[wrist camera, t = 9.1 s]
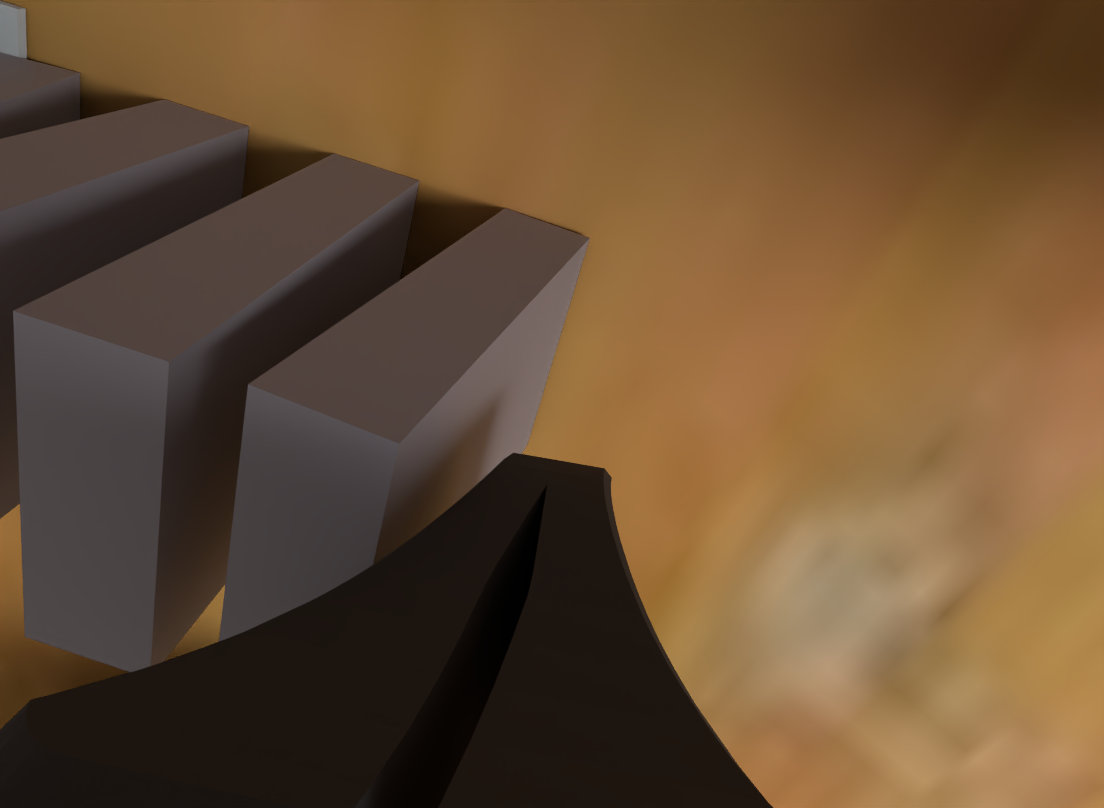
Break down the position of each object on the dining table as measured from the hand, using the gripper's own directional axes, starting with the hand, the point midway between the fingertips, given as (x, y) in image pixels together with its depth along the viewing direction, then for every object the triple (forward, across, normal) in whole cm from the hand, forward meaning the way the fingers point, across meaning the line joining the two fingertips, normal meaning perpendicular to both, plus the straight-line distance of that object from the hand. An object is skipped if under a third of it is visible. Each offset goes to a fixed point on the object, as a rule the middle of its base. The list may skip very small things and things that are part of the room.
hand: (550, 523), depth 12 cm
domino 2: (+6, +5, -1) cm, 7 cm away
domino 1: (+5, +2, 0) cm, 6 cm away
